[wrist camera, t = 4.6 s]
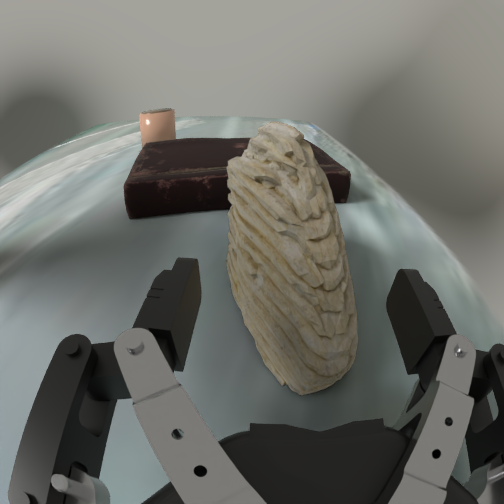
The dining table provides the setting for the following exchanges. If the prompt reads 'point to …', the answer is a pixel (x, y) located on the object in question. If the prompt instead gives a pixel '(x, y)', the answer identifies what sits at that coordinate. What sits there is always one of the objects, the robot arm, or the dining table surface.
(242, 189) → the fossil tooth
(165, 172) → the diary
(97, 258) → the dining table surface
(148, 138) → the peach glossy cylinder
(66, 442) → the robot arm
